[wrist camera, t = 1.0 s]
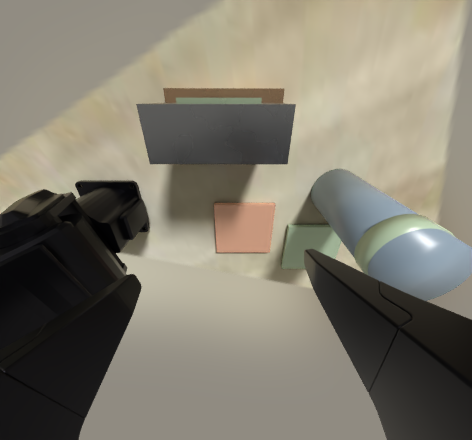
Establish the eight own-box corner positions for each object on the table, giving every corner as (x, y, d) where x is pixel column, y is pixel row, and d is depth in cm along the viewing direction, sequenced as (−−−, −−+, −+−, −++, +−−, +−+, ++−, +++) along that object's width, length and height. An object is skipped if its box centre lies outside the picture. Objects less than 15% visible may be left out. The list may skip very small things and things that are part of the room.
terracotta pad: (217, 249, 26) (216, 252, 26) (214, 202, 23) (213, 205, 22) (269, 249, 26) (269, 252, 26) (274, 202, 23) (275, 205, 22)
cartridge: (306, 211, 23) (365, 304, 13) (315, 168, 21) (400, 240, 10) (349, 211, 23) (445, 304, 13) (364, 168, 21) (503, 240, 10)
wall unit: (176, 149, 20) (137, 180, 12) (166, 89, 17) (109, 79, 9) (275, 149, 20) (301, 180, 12) (281, 89, 17) (319, 79, 9)
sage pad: (281, 265, 28) (281, 268, 27) (287, 224, 24) (289, 227, 24) (329, 265, 28) (331, 268, 27) (344, 224, 24) (346, 227, 24)
